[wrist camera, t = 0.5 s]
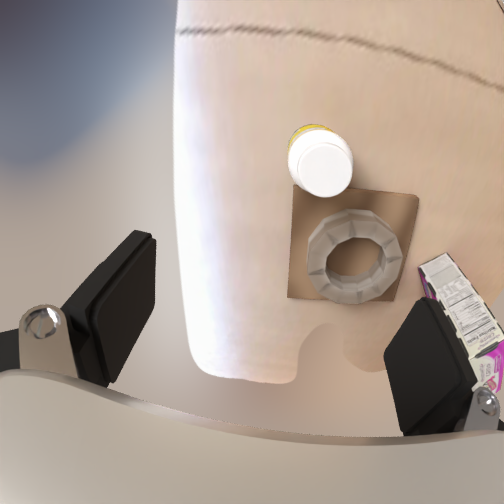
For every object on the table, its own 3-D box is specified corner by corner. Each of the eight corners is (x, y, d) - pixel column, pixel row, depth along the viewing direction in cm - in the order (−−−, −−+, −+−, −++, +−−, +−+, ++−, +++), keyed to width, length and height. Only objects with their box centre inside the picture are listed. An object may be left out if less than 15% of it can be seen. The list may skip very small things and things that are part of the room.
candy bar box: (459, 305, 36) (501, 390, 21) (431, 319, 37) (466, 409, 23) (447, 248, 32) (510, 338, 17) (416, 265, 33) (466, 363, 19)
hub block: (415, 195, 29) (430, 209, 25) (390, 295, 36) (398, 316, 32) (293, 184, 31) (293, 197, 27) (287, 291, 38) (286, 313, 34)
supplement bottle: (345, 168, 29) (367, 199, 20) (295, 178, 30) (297, 214, 22) (333, 118, 26) (353, 128, 18) (281, 129, 28) (277, 144, 19)
